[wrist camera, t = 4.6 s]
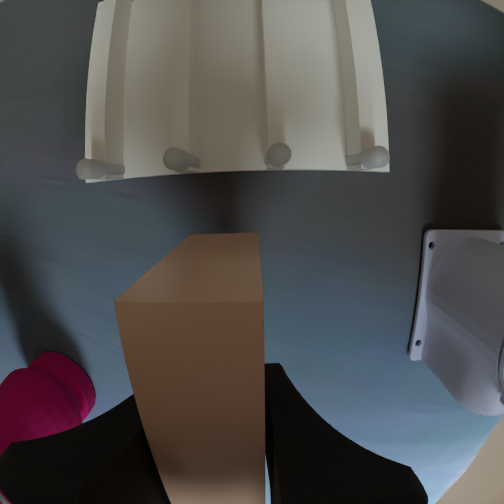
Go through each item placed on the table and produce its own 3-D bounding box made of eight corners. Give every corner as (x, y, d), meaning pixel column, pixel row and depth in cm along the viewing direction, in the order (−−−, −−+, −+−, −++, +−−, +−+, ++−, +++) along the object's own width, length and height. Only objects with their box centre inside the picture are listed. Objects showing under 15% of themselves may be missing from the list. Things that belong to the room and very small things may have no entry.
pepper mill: (78, 426, 23) (-15, 587, 3) (21, 370, 21) (-105, 506, 2) (117, 394, 21) (6, 606, 2) (51, 329, 20) (-121, 495, 1)
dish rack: (382, 172, 18) (422, 170, 13) (93, 182, 18) (48, 184, 13) (363, -6, 15) (387, -44, 10) (104, 8, 15) (73, -24, 10)
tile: (262, 435, 14) (264, 555, 7) (211, 435, 14) (193, 552, 7) (258, 232, 12) (263, 301, 5) (191, 234, 12) (113, 300, 5)
